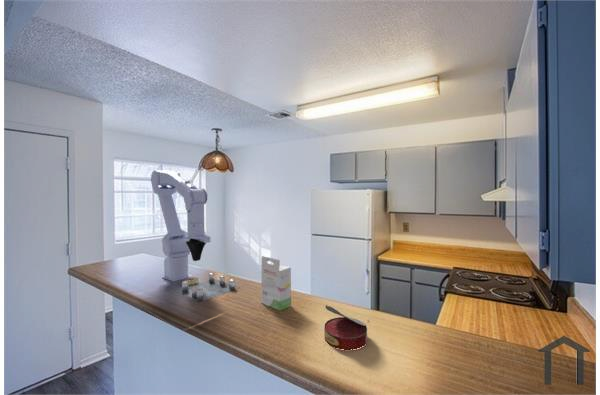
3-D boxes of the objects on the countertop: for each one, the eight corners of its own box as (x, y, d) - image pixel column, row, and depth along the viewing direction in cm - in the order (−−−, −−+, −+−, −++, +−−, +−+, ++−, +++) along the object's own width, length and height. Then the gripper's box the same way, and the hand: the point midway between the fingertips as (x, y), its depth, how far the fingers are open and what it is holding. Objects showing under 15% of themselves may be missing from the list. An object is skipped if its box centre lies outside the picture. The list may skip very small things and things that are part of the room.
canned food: (325, 351, 70) (320, 308, 74) (367, 347, 69) (359, 304, 74) (326, 354, 59) (320, 304, 64) (374, 349, 59) (365, 299, 64)
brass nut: (181, 285, 104) (181, 279, 104) (193, 281, 108) (193, 276, 108) (188, 288, 101) (188, 282, 101) (201, 284, 105) (200, 279, 105)
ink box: (292, 306, 85) (292, 257, 84) (280, 311, 81) (279, 260, 81) (272, 298, 91) (272, 252, 90) (260, 303, 87) (260, 255, 87)
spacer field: (174, 292, 96) (174, 282, 96) (214, 280, 109) (214, 271, 109) (199, 303, 87) (199, 292, 87) (240, 288, 99) (240, 279, 99)
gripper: (174, 222, 103) (175, 259, 103) (197, 225, 94) (197, 266, 94) (192, 220, 108) (193, 255, 109) (215, 223, 99) (215, 261, 100)
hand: (196, 260), depth 102 cm, fingers closed
